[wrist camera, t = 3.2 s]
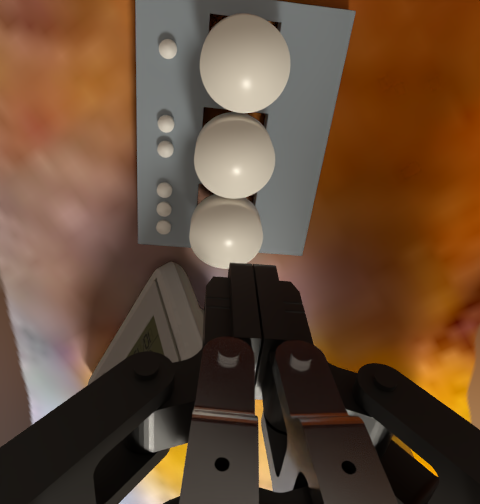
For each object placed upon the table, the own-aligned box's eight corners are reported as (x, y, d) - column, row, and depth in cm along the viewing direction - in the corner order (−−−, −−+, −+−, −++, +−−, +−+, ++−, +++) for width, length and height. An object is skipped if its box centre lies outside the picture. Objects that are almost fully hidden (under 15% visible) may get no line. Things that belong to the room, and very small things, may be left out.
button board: (348, 9, 25) (357, 11, 24) (298, 245, 34) (302, 257, 32) (139, -18, 24) (134, -18, 23) (141, 233, 32) (137, 245, 31)
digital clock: (173, 245, 33) (156, 342, 24) (257, 305, 37) (271, 410, 28) (60, 362, 39) (12, 476, 30) (142, 405, 42) (122, 519, 33)
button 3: (262, 185, 29) (268, 207, 26) (254, 244, 31) (257, 271, 29) (193, 179, 29) (191, 201, 26) (190, 239, 31) (187, 266, 28)
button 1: (288, 17, 24) (298, 21, 21) (275, 102, 26) (282, 117, 23) (204, 6, 23) (202, 9, 21) (199, 94, 26) (197, 108, 23)
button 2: (274, 109, 26) (281, 124, 24) (263, 180, 29) (268, 201, 26) (198, 101, 26) (196, 116, 23) (194, 173, 28) (191, 195, 26)
